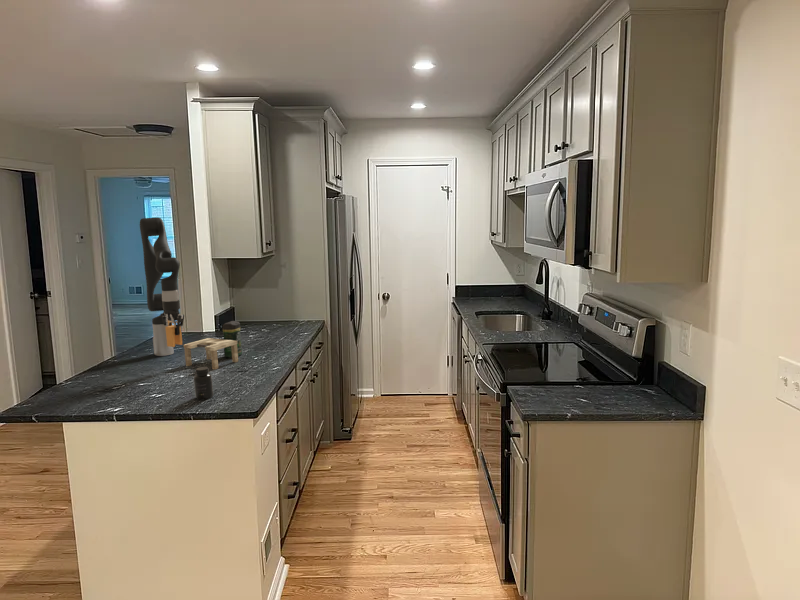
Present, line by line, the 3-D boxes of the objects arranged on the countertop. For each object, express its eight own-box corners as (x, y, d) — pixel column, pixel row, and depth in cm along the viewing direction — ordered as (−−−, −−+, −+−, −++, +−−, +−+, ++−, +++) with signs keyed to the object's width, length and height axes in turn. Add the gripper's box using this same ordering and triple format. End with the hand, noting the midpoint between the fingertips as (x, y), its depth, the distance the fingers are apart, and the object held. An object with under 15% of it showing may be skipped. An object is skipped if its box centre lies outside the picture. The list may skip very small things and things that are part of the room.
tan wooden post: (167, 346, 257) (165, 326, 255) (176, 343, 262) (174, 324, 260) (173, 346, 255) (171, 327, 254) (182, 344, 260) (180, 325, 259)
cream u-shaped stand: (185, 365, 266) (183, 344, 264) (209, 358, 280) (207, 338, 278) (215, 369, 257) (213, 347, 255) (238, 361, 271) (237, 340, 270)
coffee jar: (236, 358, 278) (233, 323, 275) (222, 358, 279) (219, 323, 276) (244, 353, 287) (242, 319, 284) (231, 353, 289) (228, 319, 286)
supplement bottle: (198, 395, 219) (195, 366, 217) (215, 394, 220) (213, 365, 218) (193, 400, 212) (190, 371, 211) (210, 399, 213) (208, 370, 211)
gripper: (153, 300, 255) (157, 335, 257) (175, 301, 248) (178, 337, 251) (166, 297, 261) (169, 332, 264) (187, 299, 255) (190, 334, 258)
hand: (174, 334), depth 258 cm, fingers closed on tan wooden post, 4 cm apart
